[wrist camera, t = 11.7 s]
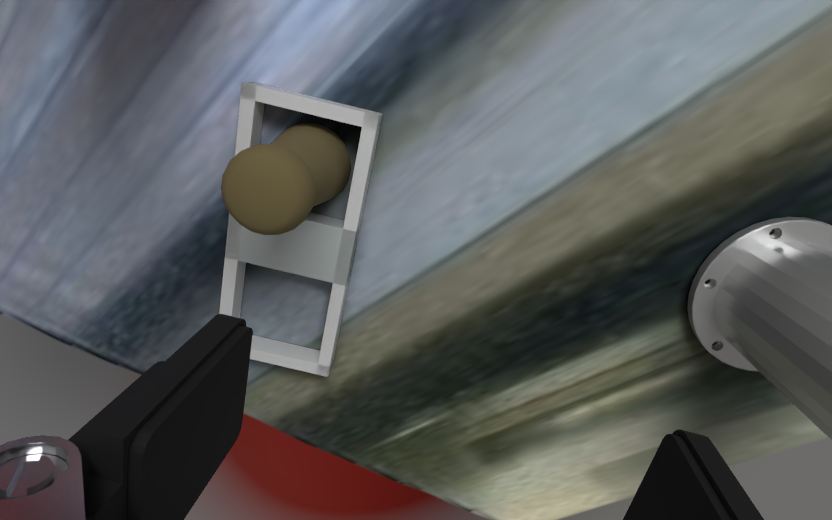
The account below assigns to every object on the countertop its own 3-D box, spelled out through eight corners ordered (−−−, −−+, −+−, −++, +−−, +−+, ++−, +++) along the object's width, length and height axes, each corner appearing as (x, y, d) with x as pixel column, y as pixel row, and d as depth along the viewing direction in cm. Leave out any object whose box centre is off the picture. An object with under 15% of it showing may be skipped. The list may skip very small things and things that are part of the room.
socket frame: (382, 113, 35) (379, 115, 34) (332, 363, 43) (327, 376, 41) (252, 81, 35) (242, 82, 33) (225, 338, 43) (215, 350, 41)
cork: (318, 218, 38) (270, 270, 28) (255, 166, 37) (182, 200, 27) (367, 161, 37) (336, 193, 26) (303, 104, 36) (244, 115, 25)
